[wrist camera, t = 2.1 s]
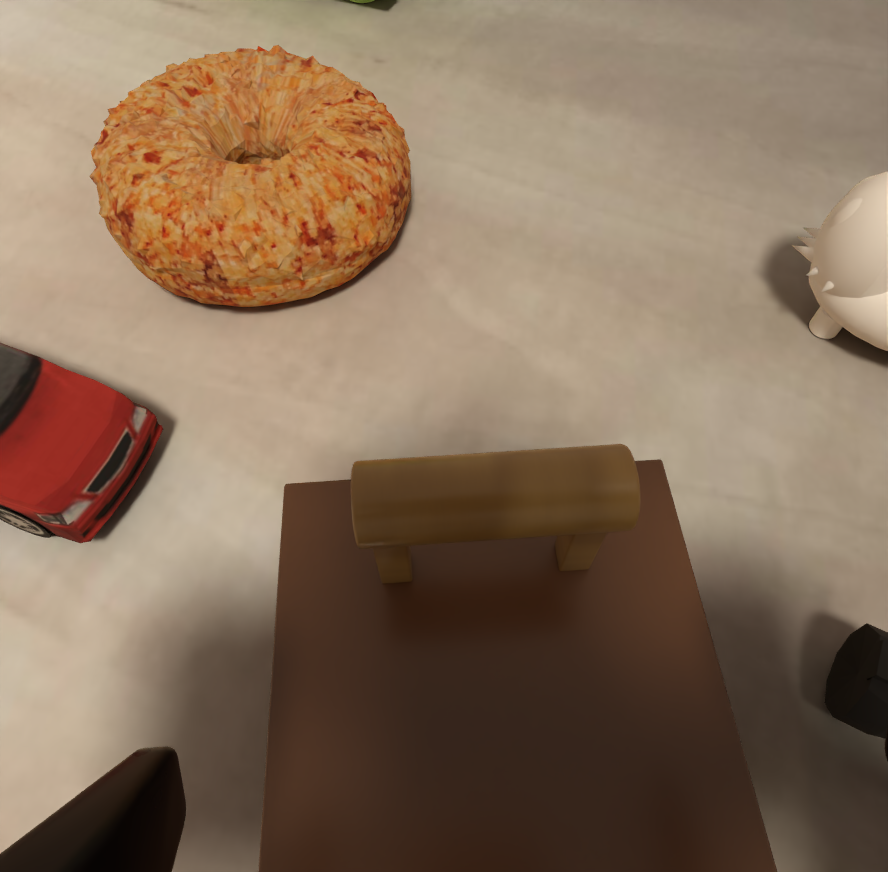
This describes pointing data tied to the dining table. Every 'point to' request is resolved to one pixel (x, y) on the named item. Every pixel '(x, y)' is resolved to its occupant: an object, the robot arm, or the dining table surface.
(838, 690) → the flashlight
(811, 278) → the toy creature
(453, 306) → the dining table surface
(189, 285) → the bagel
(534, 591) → the lid
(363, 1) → the teapot
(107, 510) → the toy car
